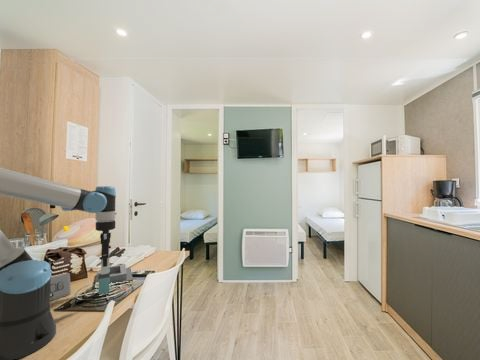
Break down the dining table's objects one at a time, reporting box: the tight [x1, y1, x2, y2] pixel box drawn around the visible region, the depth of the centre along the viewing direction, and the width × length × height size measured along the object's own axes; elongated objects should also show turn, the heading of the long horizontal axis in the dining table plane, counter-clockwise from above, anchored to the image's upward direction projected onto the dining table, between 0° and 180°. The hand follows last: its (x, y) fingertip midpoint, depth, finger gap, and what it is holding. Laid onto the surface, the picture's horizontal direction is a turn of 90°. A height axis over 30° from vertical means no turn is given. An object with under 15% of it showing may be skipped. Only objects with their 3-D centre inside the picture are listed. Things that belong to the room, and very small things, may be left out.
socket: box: [94, 263, 134, 284], centre depth 111 cm, size 18×16×4 cm
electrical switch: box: [50, 272, 72, 302], centre depth 93 cm, size 9×5×9 cm, turn 141°
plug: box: [97, 269, 110, 294], centre depth 95 cm, size 4×4×10 cm
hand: (105, 268), depth 96 cm, fingers open, 13 cm apart
